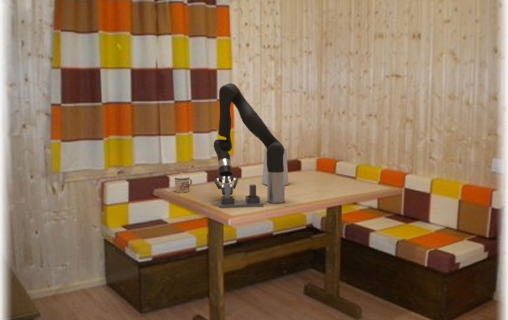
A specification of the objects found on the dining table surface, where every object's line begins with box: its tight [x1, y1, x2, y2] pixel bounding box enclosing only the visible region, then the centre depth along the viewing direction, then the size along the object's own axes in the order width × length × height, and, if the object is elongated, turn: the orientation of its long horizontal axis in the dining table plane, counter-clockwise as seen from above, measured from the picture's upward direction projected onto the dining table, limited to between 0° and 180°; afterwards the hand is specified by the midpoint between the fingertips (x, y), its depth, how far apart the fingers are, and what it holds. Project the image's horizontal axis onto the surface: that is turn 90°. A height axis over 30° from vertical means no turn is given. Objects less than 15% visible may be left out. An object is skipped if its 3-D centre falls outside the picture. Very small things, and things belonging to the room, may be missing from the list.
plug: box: [223, 183, 231, 199], centre depth 294 cm, size 3×4×10 cm
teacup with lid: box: [174, 172, 193, 193], centre depth 334 cm, size 12×9×12 cm
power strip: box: [216, 183, 264, 209], centre depth 295 cm, size 24×10×11 cm, turn 99°
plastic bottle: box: [261, 146, 289, 187], centre depth 354 cm, size 15×15×28 cm
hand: (227, 194), depth 292 cm, fingers closed on plug, 3 cm apart
